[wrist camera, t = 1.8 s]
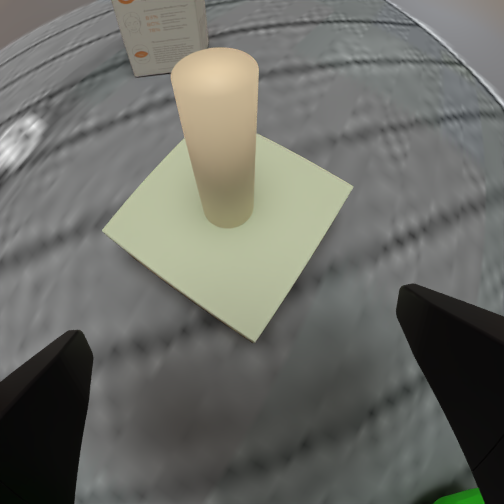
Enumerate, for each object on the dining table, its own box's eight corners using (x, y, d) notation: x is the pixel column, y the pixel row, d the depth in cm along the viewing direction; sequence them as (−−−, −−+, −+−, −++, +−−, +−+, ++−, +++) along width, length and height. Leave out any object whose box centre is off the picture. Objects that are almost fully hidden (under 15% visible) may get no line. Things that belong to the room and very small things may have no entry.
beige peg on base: (347, 197, 21) (413, 66, 10) (254, 343, 17) (265, 311, 7) (212, 124, 23) (197, -9, 12) (110, 239, 20) (12, 128, 9)
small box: (209, 43, 32) (201, -49, 20) (204, 71, 30) (192, -33, 18) (145, 49, 32) (125, -36, 20) (133, 78, 30) (104, -17, 18)
